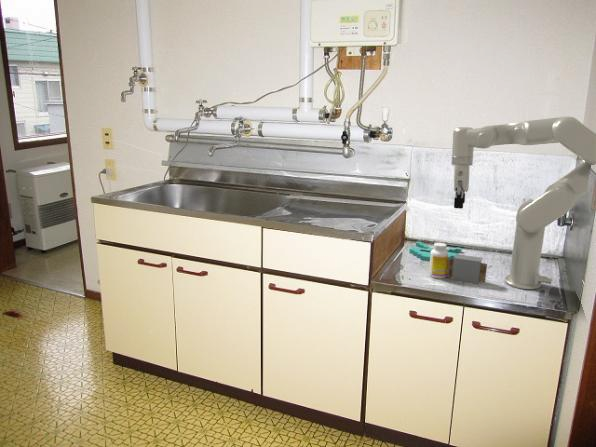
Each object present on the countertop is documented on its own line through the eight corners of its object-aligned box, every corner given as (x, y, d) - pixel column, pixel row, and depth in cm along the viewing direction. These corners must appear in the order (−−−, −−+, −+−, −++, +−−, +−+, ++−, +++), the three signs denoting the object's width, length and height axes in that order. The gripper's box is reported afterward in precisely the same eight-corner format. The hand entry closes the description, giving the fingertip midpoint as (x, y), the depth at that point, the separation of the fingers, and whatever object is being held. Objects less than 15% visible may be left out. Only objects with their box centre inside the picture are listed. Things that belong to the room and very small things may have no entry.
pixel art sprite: (416, 246, 227) (405, 258, 210) (417, 241, 227) (405, 253, 210) (461, 252, 218) (452, 266, 201) (461, 248, 218) (452, 260, 201)
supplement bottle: (449, 278, 186) (452, 246, 183) (433, 279, 185) (436, 247, 182) (441, 272, 193) (444, 241, 189) (425, 273, 192) (428, 242, 188)
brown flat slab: (485, 281, 182) (487, 263, 181) (484, 282, 181) (486, 264, 179) (446, 275, 188) (448, 258, 186) (446, 276, 187) (447, 259, 185)
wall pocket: (479, 280, 185) (481, 257, 183) (478, 284, 181) (480, 261, 178) (453, 276, 189) (455, 254, 187) (451, 280, 184) (453, 257, 182)
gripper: (471, 164, 173) (468, 211, 177) (473, 158, 189) (470, 201, 193) (449, 163, 176) (447, 209, 180) (453, 158, 191) (451, 200, 195)
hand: (459, 205), depth 186 cm, fingers open, 9 cm apart
